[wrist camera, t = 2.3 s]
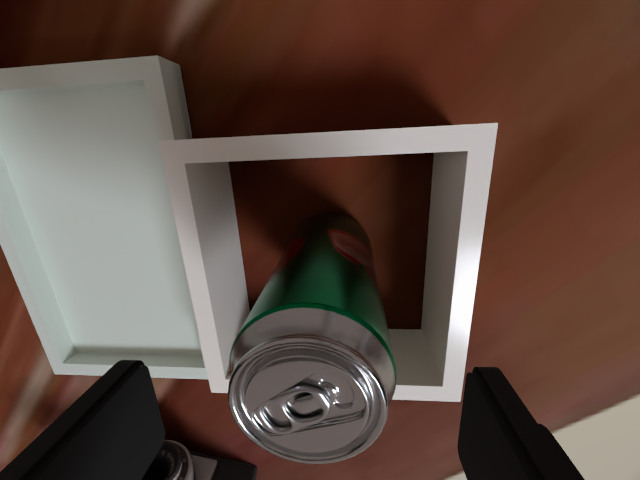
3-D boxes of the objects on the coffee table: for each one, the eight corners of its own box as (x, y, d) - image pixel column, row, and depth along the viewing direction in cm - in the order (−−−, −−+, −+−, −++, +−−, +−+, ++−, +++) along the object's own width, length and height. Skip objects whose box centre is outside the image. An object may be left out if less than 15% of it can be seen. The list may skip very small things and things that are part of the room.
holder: (209, 140, 18) (158, 140, 13) (454, 127, 16) (497, 122, 11) (240, 338, 22) (211, 392, 17) (434, 341, 21) (460, 402, 16)
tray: (-27, 81, 18) (-71, 74, 16) (179, 64, 16) (158, 55, 15) (77, 355, 24) (54, 374, 22) (231, 359, 23) (220, 379, 21)
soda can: (384, 264, 19) (435, 445, 8) (316, 295, 20) (277, 492, 9) (347, 196, 18) (344, 294, 7) (277, 233, 19) (175, 371, 8)
